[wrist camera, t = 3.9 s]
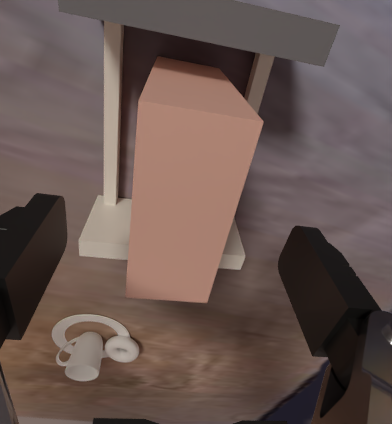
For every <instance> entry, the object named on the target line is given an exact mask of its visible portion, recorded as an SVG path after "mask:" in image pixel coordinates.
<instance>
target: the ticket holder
mask: <svg viewBox="0 0 392 424" xmlns="http://www.w3.org/2000/svg"><path fill="white" fill-rule="evenodd" d="M58 5H59V11H60V12H64V13H69V14H74V15H79V16H83V17H88V18H93V19H98V20H103V21H104V196H101V195H98V197H97V199H96V201H95V204H94V206H93V208H92V211H91V213H90V215H89V217H88V220H87V222H86V224H85V227H84V229H83V231H82V234H81V236H80V238H79V254H80V256H88V257H100V258H111V259H123V260H128V251H129V236H130V221H131V206H132V199H126V198H118V185H119V156H120V127H121V98H122V69H123V40H124V25H127V26H131V27H136V28H141V29H146V30H150V31H155V32H160V33H165V34H170V35H174V36H179V37H184V38H189V39H193V40H198V41H203V42H208V43H213V44H217V45H222V46H227V47H232V48H237V49H241V50H246V51H251V52H256V53H255V57H254V61H253V65H252V69H251V73H250V76H249V80H248V84H247V88H246V92H245V95H244V99H245V100H246V101H247V102H248V104H249V105H250V106H251V107H252V108H253V110H254V111H255V112H256V113H257V114H258V111H259V108H260V104H261V101H262V98H263V94H264V91H265V87H266V84H267V81H268V77H269V74H270V71H271V67H272V64H273V60H274V57H280V58H284V59H289V60H294V61H299V62H304V63H308V64H313V65H318V66H323V67H324V65H325V62H326V60H327V57H328V55H329V52H330V49H331V47H332V44H333V42H334V39H335V37H336V34H337V31H338V29H339V26H340V25H336V24H332V23H328V22H323V21H319V20H315V19H311V18H306V17H302V16H298V15H294V14H289V13H285V12H281V11H277V10H272V9H268V8H264V7H259V6H255V5H251V4H247V3H242V2H238V1H234V0H58ZM244 259H245V253H244V249H243V246H242V243H241V239H240V236H239V232H238V229H237V225H236V222H235V218H234V219H233V222H232V225H231V228H230V231H229V234H228V238H227V241H226V244H225V247H224V250H223V254H222V257H221V260H220V263H219V266H218V268H225V269H236V270H241V267H242V264H243V262H244Z"/></svg>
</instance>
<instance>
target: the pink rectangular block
mask: <svg viewBox="0 0 392 424" xmlns="http://www.w3.org/2000/svg"><path fill="white" fill-rule="evenodd" d="M263 123H264V121H263V120H262V119H261V118H260V117H259V115H258V114H257V113H256V112H255V111H254V110H253V108H252V107H251V106H250V105H249V104H248V102H247V101H246V100H245V99H244V98H243V96H242V95H241V94H240V93H239V92H238V90H237V89H236V88H235V87H234V86H233V84H232V83H231V82H230V81H229V80H228V78H227V77H226V76H225V75H224V74H223V72H222V71H221V70H220V69H219V68H216V67H211V66H206V65H200V64H195V63H190V62H185V61H180V60H175V59H170V58H165V57H160V56H157V58H156V61H155V63H154V65H153V68H152V70H151V72H150V75H149V77H148V79H147V82H146V84H145V86H144V89H143V91H142V93H141V96H140V98H139V101H138V116H137V131H136V146H135V161H134V176H133V191H132V206H131V221H130V236H129V251H128V266H127V281H126V296H125V298H140V299H155V300H170V301H185V302H200V303H207V302H208V298H209V295H210V292H211V289H212V286H213V282H214V279H215V276H216V273H217V270H218V266H219V263H220V260H221V257H222V254H223V250H224V247H225V244H226V241H227V238H228V234H229V231H230V228H231V225H232V222H233V219H234V215H235V212H236V209H237V206H238V203H239V199H240V196H241V193H242V190H243V187H244V183H245V180H246V177H247V174H248V171H249V167H250V164H251V161H252V158H253V155H254V151H255V148H256V145H257V142H258V139H259V135H260V132H261V129H262V126H263Z"/></svg>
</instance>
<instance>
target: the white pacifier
mask: <svg viewBox="0 0 392 424" xmlns="http://www.w3.org/2000/svg"><path fill="white" fill-rule="evenodd" d="M84 321H94V322H100V323H103V324H106V325H108V326H110V327H112V328H113V329H114V330H115V331H116V332H117V334H118V336H114V337H112V338H110V339H109V340H108V341H107V342H106V344H105V350H103V341H102V337H101V335H100V334H98V333H96V332H85V333H83V334H82V335H81V336H79V337H76V338H74V339H72V340H70V341H69V342H67V340H66V339H65V331H66V329H67V328H68V327H69V326H71V325H73V324H75V323H78V322H84ZM52 339H53V341H54V342H55V344H56V345H57V346H58V347H59V348H61V349H60V351H59V352H58V354H57V356H56V362H57V363H58V365H60V366H66V369H65V374H66V376H67V377H69V378H70V379H73V380H76V381H90V380H93V379H95V378H97V377H98V375H99V371H100V365H101V359H102V358H106V357H110V358H112V359H113V360H115V361H118V362H131V361H133V360H135V359H136V358H137V357H138V355H139V346H138V344H137V343H136V342H135V341H134V340H133V339H131V338H130V334H129V332H128V330H127V329H126V328H125V327H124V326H123V325H122V324H120V323H119V322H117V321H115V320H113V319H111V318H108V317H105V316H100V315H93V314H80V315H74V316H70V317H67V318H64V319H62V320H61V321H59V322H58V323H57V324H56V325H55V326H54V327H53V330H52ZM74 342H76V344H75V346H72V345H71V344H72V343H74ZM63 350H64V351H65V352H67V353H69V354H71V355H70V358H69V360H68V361H66V362H62V361H60V359H59V355H60V353H61V352H62V351H63Z"/></svg>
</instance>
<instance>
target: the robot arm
mask: <svg viewBox="0 0 392 424" xmlns="http://www.w3.org/2000/svg"><path fill="white" fill-rule="evenodd" d="M66 243H67V223H66V211H65V201H64V198H63V197H62V196H57V195H49V194H40V193H37V194H35V195H34V196H33V198H32V199H31V200H30V201H29V203H28V204H27V205H26V206H25V207H15V208H13V209H11V210H9V211H8V212H6V213H4V214H2V215H1V216H0V348H1V347H2V345H3V343H4V341H5V339H11V340H21V339H22V337H23V335H24V333H25V331H26V329H27V327H28V325H29V323H30V320H31V318H32V316H33V314H34V312H35V310H36V308H37V306H38V304H39V302H40V300H41V298H42V296H43V294H44V292H45V290H46V288H47V286H48V284H49V282H50V280H51V278H52V275H53V273H54V271H55V269H56V267H57V265H58V263H59V261H60V259H61V257H62V255H63V253H64V251H65V247H66ZM278 270H279V274H280V277H281V279H282V282H283V284H284V287H285V289H286V292H287V294H288V297H289V299H290V302H291V304H292V307H293V309H294V311H295V314H296V316H297V319H298V321H299V324H300V326H301V329H302V331H303V334H304V336H305V339H306V341H307V344H308V346H309V349H310V351H311V354H312V356H316V357H328V359H329V361H330V364H329V366H328V367H327V368H326V371H325V375H324V378H323V382H322V386H321V390H320V393H319V397H318V401H317V405H316V408H315V412H314V416H313V419H312V422H311V424H392V313H390V312H386V311H382V310H381V309H380V307H379V306H378V305H377V303H376V302H375V300H374V299H373V297H372V296H371V295H370V293H369V292H368V290H367V289H366V287H365V286H364V285H363V283H362V282H361V280H360V279H359V278H358V276H356V273H355V272H354V270H353V269H352V268H351V267H349V263H348V262H347V260H346V259H345V258H344V256H343V255H342V253H341V252H339V251H338V250H337V249H336V248H335V247H334V246H332V245H331V244H330V243H328V242H327V240H326V239H325V237H324V236H323V234H322V233H321V231H320V230H319V229H318V228H313V227H304V226H295V227H294V228H293V229H292V231H291V233H290V235H289V237H288V239H287V242H286V244H285V246H284V248H283V250H282V252H281V255H280V257H279V261H278ZM0 424H19V422H18V419H17V415H16V412H15V409H14V405H13V402H12V399H11V395H10V392H9V389H8V385H7V382H6V379H5V375H4V372H3V369H2V365H1V362H0ZM93 424H158V423H155V422H152V421H149V420H146V419H109V418H94V420H93ZM234 424H287V421H240V422H237V423H234Z"/></svg>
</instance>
